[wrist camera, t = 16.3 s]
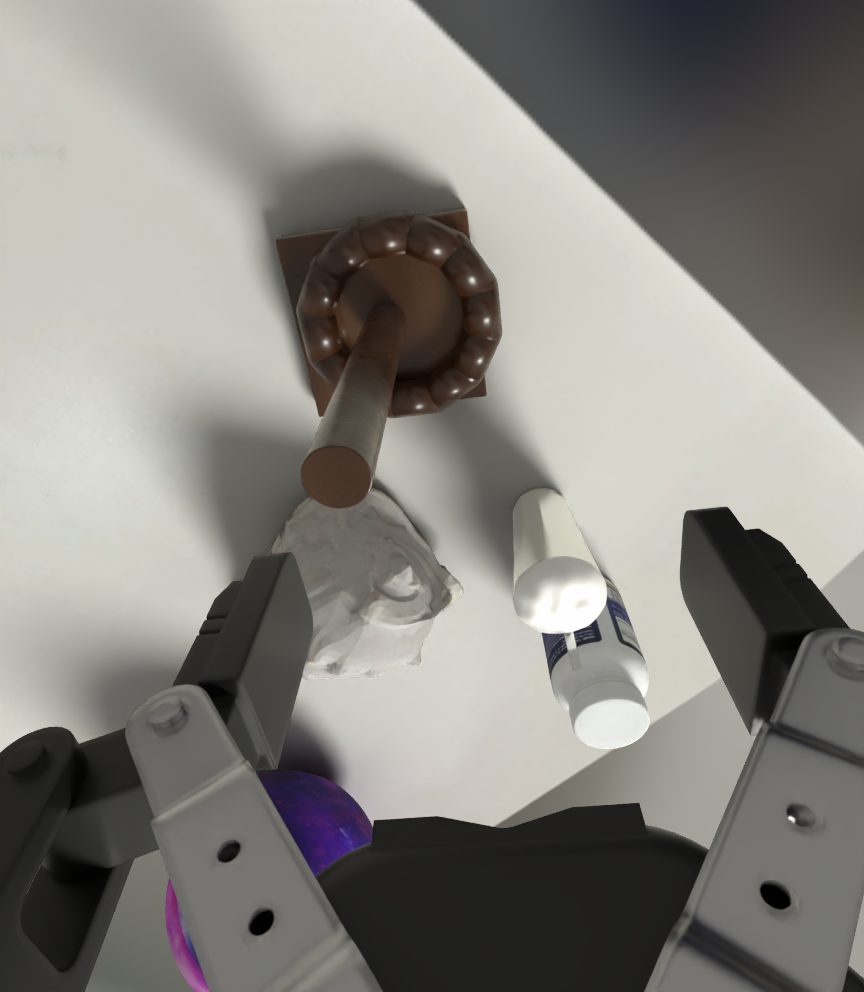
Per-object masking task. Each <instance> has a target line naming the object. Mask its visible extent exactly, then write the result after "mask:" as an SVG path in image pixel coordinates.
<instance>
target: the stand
mask: <svg viewBox="0 0 864 992" xmlns="http://www.w3.org/2000/svg"><path fill="white" fill-rule="evenodd" d="M422 215H424V216H427V217H429V218H431V219H434V220H436V221H438V222H441V223H443V224H445V225H447V226H450V227H452V228H454V229H457V230H459V231H461V232H462V233H464V234H465V235H466V237H467V238H468V239H469V241H470V235H469V225H468V216H467V209H466V208H461V209H454V210H448V211H441V212H435V213H428V214H422ZM342 228H343V227H337V228H331V229H324V230H318V231H311V232H304V233H298V234H291V235H285V236H281V237H279V238H278V239H276V240H275V242H276V246H277V250H278V254H279V258H280V262H281V266H282V270H283V274H284V278H285V282H286V286H287V290H288V294H289V298H290V302H291V306H292V310H293V314H294V318H295V322H296V326H297V330H298V334H299V338H300V342H301V346H302V350H303V354H304V358H305V362H306V366H307V370H308V374H309V378H310V382H311V386H312V390H313V394H314V398H315V402H316V406H317V410H318V414H319V416H320V417H322V416H323V418H322V421H321V423H320V425H319V427H318V430H317V432H316V434H315V437H314V439H313V441H312V443H311V446H310V448H309V450H308V453H307V455H306V457H305V460H304V462H303V464H302V467H301V480H302V484H303V486H304V488H305V490H306V492H307V493H308V494H309V495H310V496H311V497H312V498H313V499H314V500H315V501H317V502H318V503H320V504H322V505H324V506H327V507H330V508H339V509H341V508H349V507H352V506H354V505H357V504H358V503H360V502H361V501H363V500H364V499H365V498H366V497H367V495H368V494H369V492H370V490H371V487H372V484H373V479H374V474H375V470H376V465H377V461H378V456H379V451H380V447H381V442H382V438H383V433H384V429H385V424H386V419H387V415H388V410H389V406H390V401H391V396H392V392H393V387H394V383H395V382H399V381H407V380H415V379H422V378H427V377H428V376H430V375H431V374H432V373H434V372H435V371H436V370H438V369H439V368H440V367H442V366H443V365H444V364H446V363H447V362H448V361H450V360H451V359H452V357H453V354H454V352H455V350H456V347H457V345H458V343H459V340H460V338H461V336H462V333H463V331H464V324H463V316H462V308H461V300H460V296H459V294H458V293H457V291H456V290H455V289H454V287H453V286H452V285H451V283H450V282H449V281H448V279H447V278H446V277H445V275H444V274H443V273H442V271H441V270H440V269H439V268H438V267H435V266H433V265H430V264H428V263H426V262H423V261H421V260H419V259H416V258H414V257H411V256H409V255H407V254H404V255H397V256H390V257H384V258H377V259H371V260H370V261H369V262H367V263H366V264H365V265H364V266H363V267H362V268H360V269H359V270H358V271H357V272H356V273H355V274H354V275H352V276H351V277H350V278H349V279H348V280H347V281H345V284H344V287H343V291H342V294H341V297H340V300H339V303H338V306H337V309H336V313H335V314H336V318H337V323H338V327H339V332H340V337H341V341H342V345H343V347H344V348H345V349H346V350H347V351H348V352H349V354H350V356H349V359H348V361H347V363H346V366H345V368H344V370H343V372H342V375H341V377H340V379H339V382H338V384H337V386H336V388H335V391H334V390H333V389H332V388H331V386H330V385H329V384H328V383H327V382H326V381H325V380H324V379H323V378H322V377H321V375H320V374H319V373H318V372H317V371H316V370H315V369H314V368H313V367H312V365H311V364H310V362H309V360H308V358H307V354H306V350H305V346H304V342H303V338H302V334H301V330H300V326H299V322H298V318H297V313H296V307H297V303H298V300H299V296H300V293H301V289H302V286H303V282H304V279H305V275H306V272H307V268H308V265H309V261H310V259H311V257H312V255H313V254H314V253H315V252H316V251H317V250H318V249H320V248H321V247H322V246H323V245H324V244H325V243H326V242H327V241H328V240H330V239H331V238H332V237H333V236H334V235H335V234H336V233H337V232H338V231H340V230H341V229H342ZM486 395H487V394H486V384H485V375H484V377H483V379H482V381H481V382H480V383H479V384H478V385H477V386H476V387H474V388H473V389H471V390H470V391H469V392H467V393H466V394H465V395H463V396H462V397H460V398H459V399H466V398H474V397H482V396H486Z"/></svg>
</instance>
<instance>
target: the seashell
mask: <svg viewBox="0 0 864 992" xmlns="http://www.w3.org/2000/svg"><path fill="white" fill-rule="evenodd" d="M285 552H291V553H293V555H294V556H295V558H296V561H297V564H298V567H299V571H300V574H301V577H302V580H303V584H304V587H305V590H306V593H307V596H308V600H309V603H310V606H311V610H312V616H313V635H312V640H311V644H310V647H309V651H308V655H307V659H306V663H305V666H304V670H303V674H302V677H303V678H304V679H306V680H311V679H347V678H356V677H363V676H367V677H379V676H381V675H382V674H383V673H384V672H386V671H389V670H392V669H396V668H398V667H401V666H403V665H405V664H410V665H418V664H419V663H420V662H421V648H422V645H423V642H424V640H425V638H426V637H427V635H428V633H429V631H430V629H431V627H432V624H433V621H434V618H435V616H437V615H438V614H439V613H440V612H443V611H444V610H445V609H446V608H447V607H448V606H450V605H451V604H453V603H455V602H456V601H458V600H459V599H460V598H461V597H462V595H463V587H462V585H461V584H460V583H459V582H458V581H457V580H456V579H455V578H454V577H453V576H452V575H451V574H450V573H449V572H448V570H447V569H446V568H445V567H444V566H442V565H440V564H439V563H438V561H437V559H436V557H435V555H434V554H433V552H432V550H431V549H430V547H429V546H428V544H427V542H426V541H425V540H424V539H422V538H421V536H420V534H419V533H418V532H417V531H416V529H415V528H414V526H413V525H412V524H411V522H410V521H409V520H408V518H407V516H406V514H405V513H404V511H403V510H402V509H401V508H400V507H399V506H398V505H397V504H396V502H395V501H394V500H393V499H391V498H390V497H389V496H387V495H386V494H384V493H383V492H381V491H380V490H377V489H374V488H371V490H370V492H369V494H368V495H367V497H366V498H365V499H364V500H363V501H361V502H360V503H358V504H357V505H354V506H352V507H349V508H341V509H339V508H330V507H327V506H324V505H322V504H320V503H318V502H317V501H315V500H314V499H313V498H312V497H311V496H310V497H308V498H307V499H305V500H304V501H303V502H302V503H301V504H300V505H299V506H298V507H297V508H296V509H295V510H294V512H293V513H292V514H291V515H290V516H289V518H288V519H287V521H286V522H285V524H284V526H283V528H282V530H281V531H280V533H279V535H278V537H277V539H276V541H275V542H274V544H273V546H272V547H271V549H270V550H269V552H268V553H267V554H276V553H285Z"/></svg>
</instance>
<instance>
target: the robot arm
mask: <svg viewBox="0 0 864 992" xmlns="http://www.w3.org/2000/svg"><path fill="white" fill-rule="evenodd" d="M680 583H681V590H682V594H683V598H684V601H685V603H686V606H687V608H688V610H689V612H690V614H691V616H692V618H693V620H694V622H695V624H696V626H697V628H698V630H699V632H700V634H701V636H702V638H703V640H704V642H705V644H706V646H707V648H708V650H709V652H710V654H711V656H712V658H713V660H714V663H715V665H716V667H717V669H718V671H719V673H720V675H721V677H722V679H723V681H724V683H725V685H726V687H727V689H728V691H729V693H730V695H731V697H732V699H733V701H734V703H735V705H736V707H737V709H738V711H739V713H740V715H741V717H742V719H743V721H744V723H745V725H746V727H747V729H748V731H749V733H750V735H751V736H756V739H755V741H754V743H753V746H752V748H751V750H750V753H749V755H748V758H747V760H746V762H745V765H744V767H743V770H742V772H741V774H740V777H739V779H738V782H737V784H736V786H735V789H734V791H733V794H732V796H731V798H730V801H729V803H728V805H727V808H726V810H725V813H724V815H723V818H722V820H721V822H720V825H719V827H718V829H717V832H716V834H715V837H714V839H713V841H712V844H711V846H710V849H709V850H708V849H707V848H705V847H703V846H701V845H700V844H698V843H696V842H694V841H692V840H690V839H688V838H686V837H683V836H681V835H679V834H676V833H674V832H670V831H667V830H664V829H661V828H657V827H653V826H648V825H645V823H644V819H643V815H642V812H641V808H640V804H639V803H631V804H616V805H602V806H587V807H572V808H569V809H566V810H563V811H560V812H556V813H553V814H550V815H547V816H544V817H541V818H538V819H535V820H532V821H529V822H526V823H523V824H520V825H517V826H514V827H510V828H496V827H491V826H486V825H481V824H475V823H470V822H465V821H459V820H454V819H449V818H444V817H438V816H434V817H419V818H404V819H389V820H374V824H373V833H372V843H369V844H366V845H363V846H361V847H359V848H356V849H354V850H352V851H350V852H348V853H346V854H345V855H343V856H341V857H340V858H338V859H337V860H335V861H333V862H332V863H331V864H329V865H328V866H327V867H326V868H324V869H323V870H322V871H320V872H319V873H318V874H317V875H316V876H314V874H313V872H312V871H311V869H310V867H309V865H308V864H307V862H306V860H305V858H304V857H303V855H302V853H301V851H300V850H299V848H298V846H297V844H296V843H295V841H294V839H293V837H292V836H291V834H290V832H289V830H288V829H287V827H286V825H285V823H284V822H283V820H282V818H281V816H280V815H279V813H278V811H277V809H276V808H275V806H274V804H273V802H272V801H271V799H270V797H269V795H268V794H267V792H266V790H265V788H264V787H263V785H262V783H261V781H260V780H259V778H258V776H257V774H256V773H255V772H256V771H264V770H277V768H278V764H279V760H280V756H281V753H282V749H283V745H284V741H285V738H286V734H287V730H288V726H289V723H290V719H291V715H292V711H293V708H294V704H295V700H296V696H297V693H298V689H299V685H300V681H301V678H302V674H303V670H304V666H305V663H306V659H307V655H308V651H309V647H310V644H311V640H312V635H313V616H312V610H311V606H310V603H309V600H308V596H307V593H306V590H305V587H304V584H303V580H302V577H301V574H300V571H299V567H298V564H297V561H296V558H295V556H294V555H293V553H291V552H285V553H276V554H267V555H257V556H255V557H254V558H253V560H252V562H251V564H250V566H249V569H248V571H247V573H246V575H245V578H244V580H243V581H234V582H232V583H231V584H230V585H229V586H228V587H227V588H226V589H225V590H224V591H223V592H222V593H221V594H220V595H219V596H217V597H216V598H215V600H214V602H213V604H212V606H211V608H210V610H209V612H208V615H207V620H205V621H204V623H203V625H202V627H201V629H200V631H199V635H198V636H197V637H196V639H195V641H194V643H193V645H192V647H191V649H190V651H189V653H188V655H187V657H186V659H185V661H184V663H183V665H182V667H181V669H180V671H179V673H178V675H177V678H176V680H175V682H174V684H173V686H172V687H170V688H167V689H165V690H163V691H160V692H158V693H156V694H155V695H153V696H151V697H150V698H149V699H147V700H146V701H145V702H143V703H142V704H141V705H140V706H139V707H138V708H137V709H136V710H135V712H134V713H133V714H132V716H131V717H130V719H129V721H128V723H127V726H126V728H124V729H121V730H119V731H116V732H113V733H110V734H107V735H104V736H101V737H98V738H95V739H92V740H89V741H86V742H83V743H80V744H79V743H78V742H77V740H76V739H75V737H74V735H73V734H72V733H71V731H69V730H68V729H65V728H62V727H48V728H43V729H40V730H36V731H34V732H31V733H29V734H27V735H25V736H23V737H21V738H19V739H18V740H16V741H15V742H13V743H12V744H10V745H9V746H8V747H6V748H5V749H4V750H3V751H2V752H1V753H0V992H85V989H86V987H87V984H88V981H89V979H90V976H91V974H92V971H93V968H94V965H95V963H96V960H97V957H98V955H99V952H100V949H101V946H102V944H103V941H104V939H105V936H106V933H107V930H108V928H109V925H110V922H111V920H112V917H113V914H114V912H115V909H116V906H117V903H118V901H119V898H120V896H121V893H122V890H123V887H124V885H125V882H126V879H127V877H128V874H129V871H130V869H131V866H132V863H133V861H134V859H135V858H137V857H140V856H142V855H145V854H147V853H150V852H153V851H156V850H158V849H159V850H160V852H161V855H162V858H163V861H164V864H165V867H166V870H167V872H168V875H169V878H170V881H171V884H172V887H173V889H174V892H175V895H176V898H177V901H178V904H179V907H180V909H181V912H182V915H183V918H184V921H185V924H186V926H187V929H188V932H189V935H190V938H191V941H192V943H193V946H194V949H195V952H196V955H197V958H198V961H199V963H200V966H201V969H202V972H203V975H204V978H205V980H206V983H207V986H208V989H209V992H864V978H863V977H861V976H860V975H859V974H858V973H857V972H855V971H854V970H853V969H852V968H851V967H850V966H848V964H849V959H850V954H851V950H852V945H853V941H854V936H855V932H856V927H857V922H858V918H859V913H860V909H861V904H862V899H863V895H864V632H861V631H857V630H854V629H850V628H849V627H848V625H847V624H846V623H845V622H844V621H843V619H842V618H841V617H840V615H839V614H838V613H837V612H836V610H835V609H834V608H833V606H832V605H831V604H830V603H829V601H828V600H827V599H826V598H825V596H824V595H823V594H822V593H821V591H820V590H819V589H818V588H817V586H816V585H815V584H814V583H813V581H812V580H811V579H810V578H809V579H808V577H807V574H806V572H805V571H804V570H803V569H802V567H801V566H800V565H799V564H796V560H795V559H794V557H793V556H792V555H791V554H790V552H789V551H788V550H787V549H786V547H785V546H784V545H783V544H782V542H780V541H778V540H777V539H775V538H773V537H772V536H770V535H768V534H767V533H765V532H763V531H762V530H760V529H750V530H745V529H744V528H743V527H742V525H741V524H740V523H739V521H738V520H737V518H736V517H735V516H734V514H733V513H732V512H731V510H730V509H729V508H728V507H717V508H708V509H698V510H689V511H686V513H685V515H684V519H683V532H682V548H681V563H680ZM40 865H41V866H40ZM39 867H40V868H39ZM38 869H39V870H38ZM37 871H38V872H37ZM36 873H37V874H36ZM35 875H36V876H35ZM34 877H35V878H34ZM33 879H34V880H33ZM32 881H33V882H32ZM31 883H32V884H31ZM30 885H31V886H30ZM29 887H30V888H29ZM28 889H29V890H28ZM27 891H28V892H27ZM26 893H27V894H26Z"/></svg>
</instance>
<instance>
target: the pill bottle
mask: <svg viewBox="0 0 864 992" xmlns="http://www.w3.org/2000/svg"><path fill="white" fill-rule="evenodd" d="M604 579H605V582H606V586H607V600H606V604H605V606H604V608H603V610H602V612H601V613H600V614H599V616H598V617H597V618H596V619H595V620H594V621H593V622H592V623H591V624H590V625H588V626H586V627H584V628H582V629H579V630H577V631H574V632H573V633H574V637H575V642H576V646H577V650H578V654H579V658H580V663H581V667H582V669H581V670H578V671H573V670H572V667H571V663H570V658H569V654H568V650H567V645H566V641H565V636H564V633H562V634H548V633H542V636H543V642H544V647H545V652H546V657H547V663H548V668H549V674H550V679H551V684H552V689H553V692H554V695H555V697H556V699H557V701H558V702H559V703H560V705H561V706H562V707H563V708H564V709H566V710H567V711H568V712H569V714H570V718H571V721H572V726H573V730H574V733H575V735H576V736H577V737H578V739H580V740H581V741H582V742H583V743H585V744H586V745H589V746H592V747H595V748H600V749H614V748H620V747H623V746H626V745H629V744H631V743H633V742H635V741H636V740H638V739H639V738H640V737H641V736H642V735H643V734H644V733H645V732H646V730H647V729H648V726H649V722H650V717H649V713H648V710H647V706H646V703H645V700H644V696H645V694H646V692H647V689H648V684H649V674H648V670H647V666H646V663H645V660H644V657H643V655H642V652H641V649H640V647H639V644H638V641H637V638H636V636H635V633H634V630H633V627H632V625H631V622H630V619H629V617H628V614H627V611H626V608H625V606H624V603H623V601H622V598H621V596H620V593H619V591H618V590H617V588H616V587H615V586H614V585H613V584H612V583H611V582H610V581H609V580H607V579H606V578H604Z"/></svg>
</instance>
